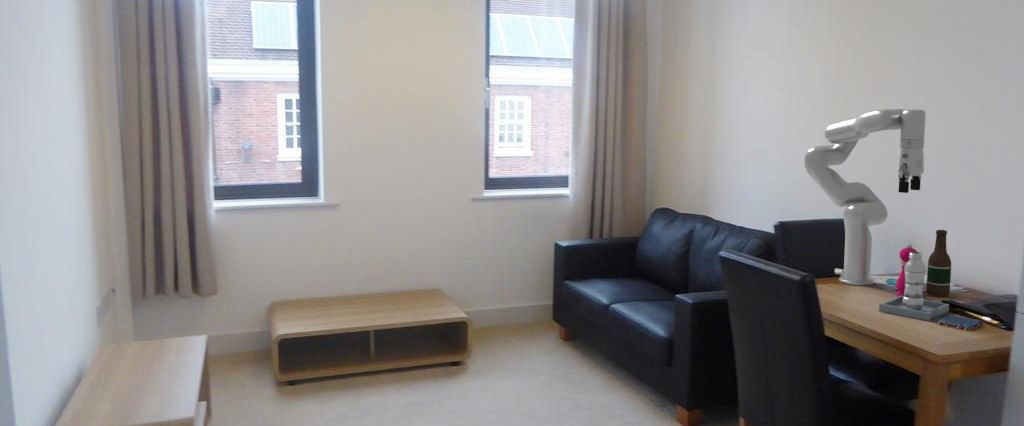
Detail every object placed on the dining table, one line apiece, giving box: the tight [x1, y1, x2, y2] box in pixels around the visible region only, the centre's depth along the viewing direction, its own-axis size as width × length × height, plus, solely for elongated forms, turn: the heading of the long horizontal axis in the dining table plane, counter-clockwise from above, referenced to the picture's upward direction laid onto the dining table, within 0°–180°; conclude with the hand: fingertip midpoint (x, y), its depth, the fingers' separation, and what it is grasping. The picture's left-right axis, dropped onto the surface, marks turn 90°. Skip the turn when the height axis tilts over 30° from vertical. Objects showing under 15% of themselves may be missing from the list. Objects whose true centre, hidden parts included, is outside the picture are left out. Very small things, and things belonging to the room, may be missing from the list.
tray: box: [878, 296, 950, 322], centre depth 248 cm, size 16×16×2 cm
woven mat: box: [936, 314, 984, 332], centre depth 233 cm, size 10×11×2 cm
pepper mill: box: [895, 243, 918, 297], centre depth 264 cm, size 7×7×20 cm
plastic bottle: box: [902, 251, 927, 311], centre depth 246 cm, size 6×7×20 cm
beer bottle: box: [926, 229, 952, 298], centre depth 267 cm, size 8×8×24 cm
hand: (909, 191), depth 265 cm, fingers open, 9 cm apart
